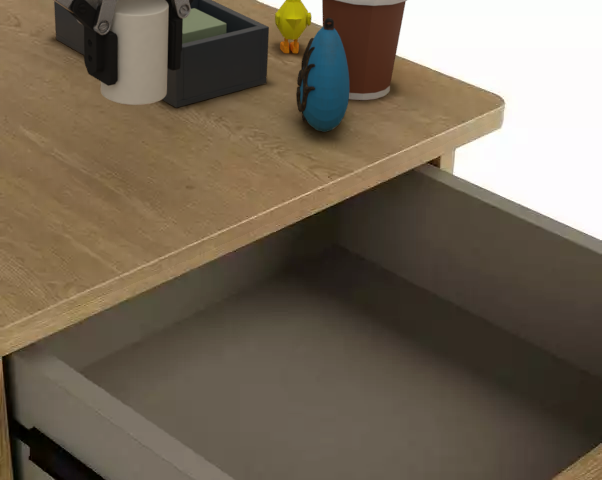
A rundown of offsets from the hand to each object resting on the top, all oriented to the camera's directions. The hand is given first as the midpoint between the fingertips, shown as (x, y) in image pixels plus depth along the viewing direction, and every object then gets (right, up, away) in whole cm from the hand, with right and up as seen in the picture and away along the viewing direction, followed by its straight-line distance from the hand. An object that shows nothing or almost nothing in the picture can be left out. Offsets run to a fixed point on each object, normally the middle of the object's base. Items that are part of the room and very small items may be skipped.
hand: (133, 69), depth 98 cm
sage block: (+2, +4, +25) cm, 26 cm away
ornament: (+14, -2, +18) cm, 23 cm away
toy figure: (+11, +8, +33) cm, 36 cm away
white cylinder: (0, -2, +1) cm, 2 cm away
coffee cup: (+18, +3, +26) cm, 32 cm away
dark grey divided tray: (-1, +6, +29) cm, 29 cm away
